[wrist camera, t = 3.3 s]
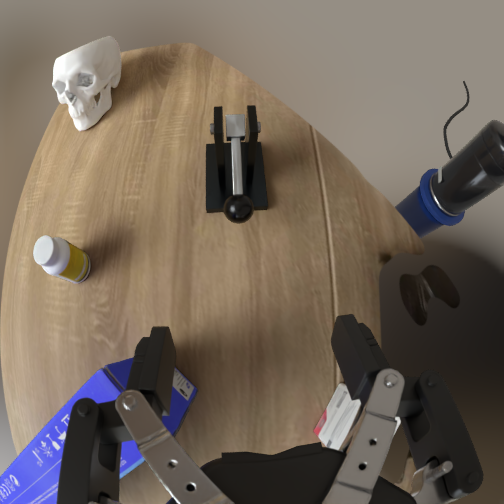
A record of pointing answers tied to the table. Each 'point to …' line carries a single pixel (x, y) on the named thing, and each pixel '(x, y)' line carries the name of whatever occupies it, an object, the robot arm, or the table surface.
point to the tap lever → (237, 173)
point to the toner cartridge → (53, 436)
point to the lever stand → (221, 165)
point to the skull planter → (88, 80)
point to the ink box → (338, 418)
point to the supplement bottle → (61, 259)
